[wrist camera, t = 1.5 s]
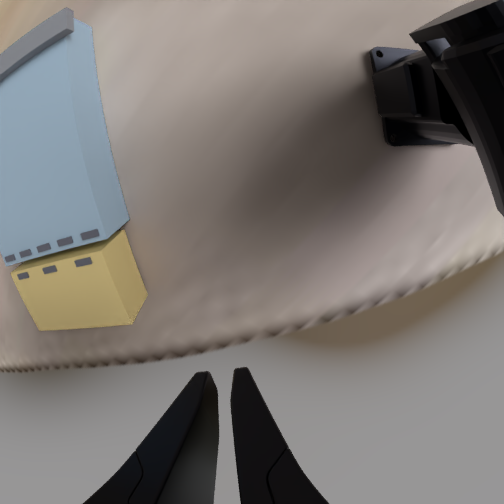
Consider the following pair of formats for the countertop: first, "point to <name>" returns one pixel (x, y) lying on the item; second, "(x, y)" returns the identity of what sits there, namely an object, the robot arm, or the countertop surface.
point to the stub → (83, 286)
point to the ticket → (54, 144)
